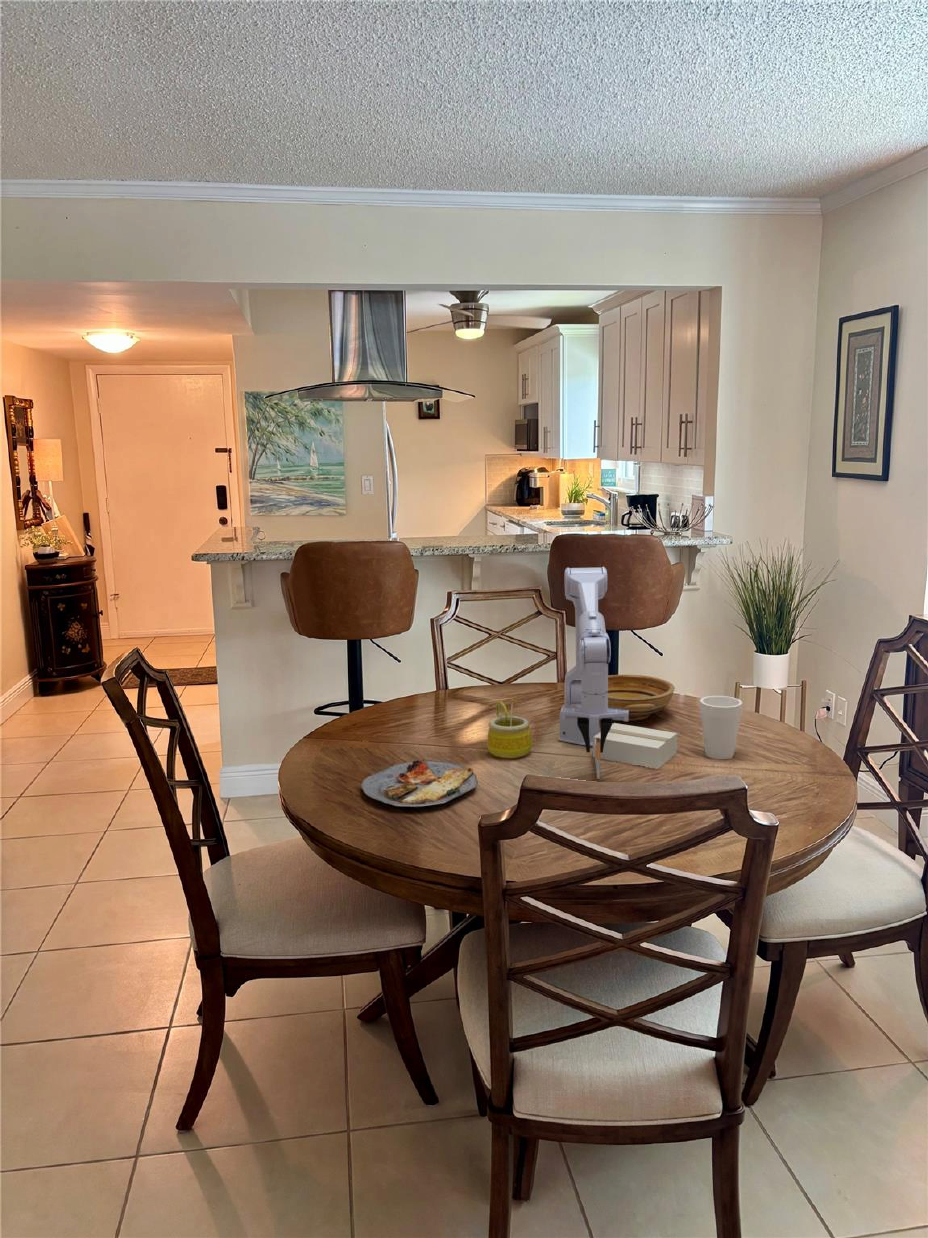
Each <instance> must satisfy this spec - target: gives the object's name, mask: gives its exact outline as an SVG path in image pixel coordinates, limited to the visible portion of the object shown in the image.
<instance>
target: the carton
mask: <svg viewBox="0 0 928 1238" xmlns="http://www.w3.org/2000/svg"><path fill="white" fill-rule="evenodd" d="M596 738H600V739H601V731H599V733H598V734H597V735H595V736H594V737H593V746H592V758H594V757H595V739H596ZM677 738H678V733H677V732H672V731H667V730H666V731H665V730H659V729H653V728H648V727H641V726H635V725H628V724H623V723H622V724H621V723H618V722H617V723H616V722H614V723H613V722H612V726H611V729H610V730H609V732H608V735H607V737H606V740H605V743H604V747H603V753H600V760H604V761H610V762H611V761H612V762H616V761H617V763H622V764H626V763H627V765H632V766H633V765H634V766H637V765H642V766H645V767H644V768H648V767H649V769H653V768H654V770H658V769H660V768H661V767H662V766H664V765H665V764H666V763H667V762H668V761H669V760H671V758H673V757H674V756H675V755H677V752H678V751H677V749H678V748H677V746H678V745H677V743H678V741H677V740H678V739H677ZM642 766H641V767H642Z"/></svg>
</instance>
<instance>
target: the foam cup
mask: <svg viewBox="0 0 928 1238" xmlns="http://www.w3.org/2000/svg"><path fill="white" fill-rule="evenodd" d="M699 711H700V717H701V726H702V727H701V729H702V734H703V743H704V744H703V745H704V751H705V753H704V754H705V756H707V757H709V758H711V759H715V760H730V759H732V758H733V757H734V754H735V749H736V744H737V738H738V734H739V733H738V732H739V725H740V721H741V715H742V713H743V701H742V700H741V699H739V698H737V697H731V696H727V695H712V696H711V695H708V696H704V697H701V698H700V699H699Z"/></svg>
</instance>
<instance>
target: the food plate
mask: <svg viewBox="0 0 928 1238" xmlns="http://www.w3.org/2000/svg"><path fill="white" fill-rule="evenodd" d="M478 783H479V781H478V780H477V774H476V773H474V769H473V768H470V767H469V768H468V767H465V766H462V765H459V764H458V763H455V762H449V761H442V760H438V761H437V760H436V761H435V760H425V759H423V758H422V759H421V760H413V761H412V762H408V761H407V762H405V763H401V764H393V765H392V766H389V767H386V768H385V769H382V770H379V771H377V772H374V774H371V775H368V776H367V777H366V778H364V780H362V782H361V790H362V791H363V793H364V794H365V795H366V796H367V797H370V798H371V799H374V800H376V801H378V802H382V803H383V804H389V805H392V806H395V807H411V808H412V807H414V808H416V809H417V808H421V807H426V806H434V805H441V804H445V803H447V802H449V801H451V800H453V799H455V798H458V797H460V796H462V795H464V794H466V793H468V792H469V791H471V790H473V789H475V788H476V787H477V786H478ZM385 792H386V793H385ZM385 794H386V796H388V798H387V797H385V796H384V795H385ZM403 798H404V799H403ZM400 799H402V800H401V802H400V801H397V800H400Z"/></svg>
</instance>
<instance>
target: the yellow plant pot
mask: <svg viewBox="0 0 928 1238" xmlns="http://www.w3.org/2000/svg"><path fill="white" fill-rule="evenodd" d="M514 701H515V699H513V698H511V699H510V702H511V705H510V708H511V709H510V715H508V710H507V706H506V705H505V704H504V703H503V702H502V701H500V702H497V703H496V706H495V713H496V717H495V718H493V719H491V720H490V721H489V722H488V733H487V741H486V748H487V750H488V752H489V753H490V754H491V755H492V756H494V757H498V758H501V759H516V758H521V757H524V756H527V755H528V754H529V753H530V752H531V750H532V748H533V745H534V744H533V735H532V732H531V729H530V721H528V720H527V718H523V717H520V716H516V715H513V703H514ZM499 713H500V714H499Z"/></svg>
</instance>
